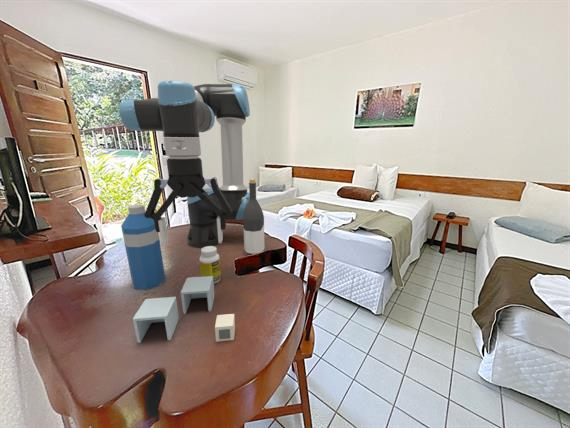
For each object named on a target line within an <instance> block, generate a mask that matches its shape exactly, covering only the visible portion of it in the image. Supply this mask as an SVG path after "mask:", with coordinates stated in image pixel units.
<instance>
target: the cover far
mask: <svg viewBox="0 0 570 428" xmlns="http://www.w3.org/2000/svg"><path fill="white" fill-rule="evenodd" d="M180 298H181V305H182V313H183V315H184V314H185V315H186V314H187V311H188V309H189V307H190V303H191V300H192V299H203V298H204V299H205V298H207V299H206V300H207V309H208V310H207V311H208V312H209V313H211V312H212V309H213V304H214V300H215V284H214V283H213V276H206V277H201V276H191V277H187V278H186V279H185V281H184V284H183V286H182V289H181V291H180Z"/></svg>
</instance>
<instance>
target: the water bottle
mask: <svg viewBox="0 0 570 428" xmlns="http://www.w3.org/2000/svg"><path fill="white" fill-rule="evenodd" d="M127 208H128V214H127V216H126V217H125V219H124V220H123V222H122V224H121V225H120V227H121V232H122V238H123V242H124V247H125V253H126V258H127V262H128V267H129V268H128V269H129V272H130V273H129V274H130V279H131V283H132V286H133V287H134V289H135V290H146V291H147V290H149V289H152V288H156V287H158V286H160V285H161V284H162V283H163V282H164V281H165V280H166V275H165V267H164V261H163V260H164V259H163V254H162V249H161V239H160V232H156V229H155V223H154V220H153V219H152V218H146V217H145V216H144V215H145V212H146V207H145V205H144V204H132V205H129V206H127Z"/></svg>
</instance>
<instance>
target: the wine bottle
mask: <svg viewBox="0 0 570 428" xmlns="http://www.w3.org/2000/svg"><path fill="white" fill-rule="evenodd" d="M248 185H249V186H248V189H249V191H248V192H249V193H250V199H249V202H248V204H247V205H246V208H245V211H244V215H243V219H242V221H243V222H242V224H243V225H242V226H243V244H244V245H243V247H244V250H243V251H244V254H245V253H246V254H247V255H252V254H257V253H260V252H262V251H264V252H265V251H266V249H265V216H264V215H265V214H264V212H263V209H262V207H261V205H260V203H259V201H258V200H257V183H256V179H255V178H249V183H248ZM246 254H245V255H246ZM247 255H246V256H247Z"/></svg>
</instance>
